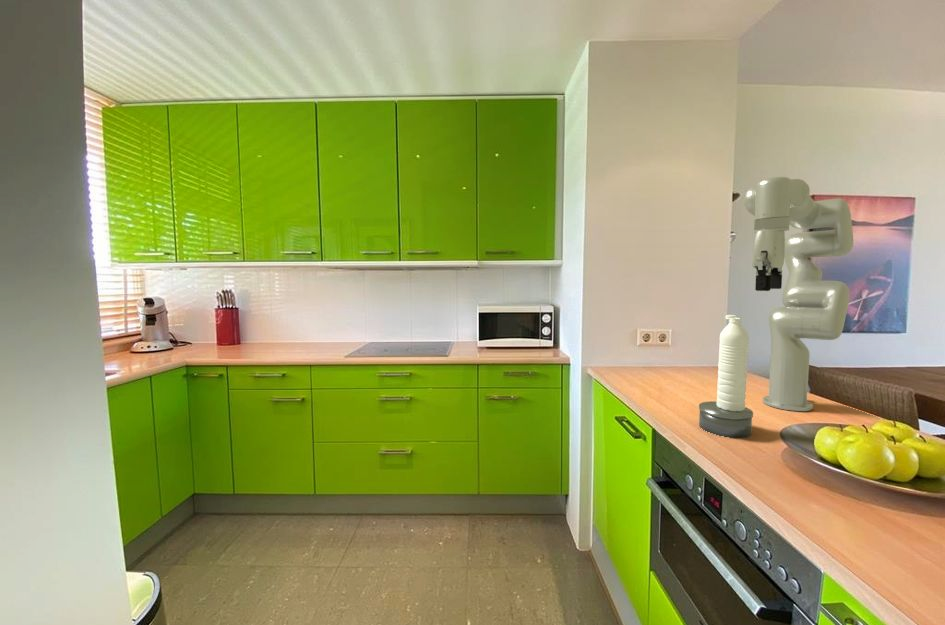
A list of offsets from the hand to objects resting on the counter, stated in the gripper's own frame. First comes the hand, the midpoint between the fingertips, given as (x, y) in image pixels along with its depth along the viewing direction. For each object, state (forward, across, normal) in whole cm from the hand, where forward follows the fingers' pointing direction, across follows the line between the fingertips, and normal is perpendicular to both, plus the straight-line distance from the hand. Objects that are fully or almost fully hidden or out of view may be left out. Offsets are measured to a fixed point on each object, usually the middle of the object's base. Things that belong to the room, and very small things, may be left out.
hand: (768, 289), depth 106 cm
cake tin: (+38, +12, -6) cm, 40 cm away
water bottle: (+32, +10, -5) cm, 34 cm away
